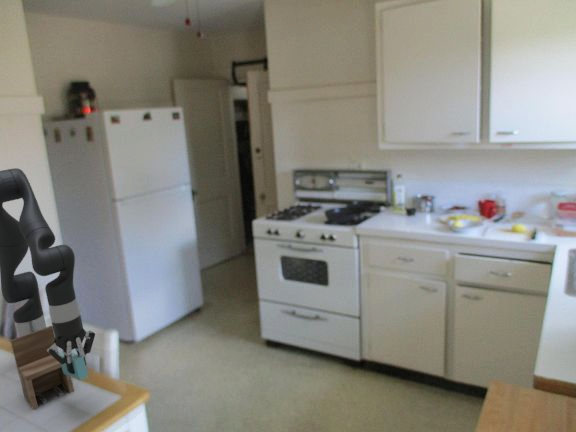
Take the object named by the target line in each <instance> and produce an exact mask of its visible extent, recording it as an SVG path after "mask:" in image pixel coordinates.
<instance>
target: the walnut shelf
mask: <svg viewBox="0 0 576 432" xmlns="http://www.w3.org/2000/svg"><path fill="white" fill-rule="evenodd" d="M54 340H55V335H54V331H53V326H52V325H50V326H46V328H43V329H41V330H38V331H35V332H32V333H30V334H27V335H24V336H21V337H19V338H18V337H17V338H16V337H15V338H13V339H11V340H10V345H11V349H12V353H13V357H14V360H15V364H16V368H17V373H18V377H19V382H20V384H21V387H22V392H23V396H24V399H25V400H26V402H27V403H28V405H30V407H31V408H32V409H33V410H36V409H38V408H39V406H38V401H37V398H38V399H39V400H40V402H41V403H42V404H43V405H45V404H47V403H48V400H46V398H45V397H44V395H42V394H41V393H43V392H46V391H48V390H50V389H53V390H54V391H55V393H57V395H59V397H63V396H65V395H64V392H63V391H62V390H61V389H60V388H59V387H58V386H59V385H62V386H63V387H64V388H65V389H66V390H67V392H69V393H70V394H71V393H73V392H74V391H75V389H74V385H73V379H72V377H71V376H68V375H66V374H64V373H63V370H62V367H61V363H60V362H58V361H57V360H56V359H55V358H54V357H53V356H52V355H50V354H49V353H48V352H47V351H46V349H47V348H48V347H51V346H52V345H53V344H54ZM58 349H59V348H57V350H58ZM57 354H58V355H59V354H61V353H60V352H59V350H58V351H57ZM36 397H37V398H36Z"/></svg>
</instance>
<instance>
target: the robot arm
mask: <svg viewBox="0 0 576 432" xmlns="http://www.w3.org/2000/svg"><path fill="white" fill-rule="evenodd" d="M20 199H21V200H22V201H23V204H22V205H23V206H22V210H21V213H20V215H19V220H18V219H16V218H15V217H13V216H12V215H11V214H10V213H9V212H8V211H7V210H6V209H5V208H4V205H3V204H4V203H7V202H12V201H15V200H20ZM55 241H56V235H55V234H54V232H53V230H52V228H51V227H50V225H49V224H48V223H47V221H46V219H45V217H44V216H43V213H42V211H41V208H40V205H39V203H38V201H37V198H36V195H35V192H34V191H33V188H32V185H31V183H30V180H29V179H28V177H27V175H26V174H25V172H24V171H23V170H22V169H20V168H16V167H15V168H8V169H3V170H0V289H1V293H2V296H3V297H2V298H3V299H4V301H5V302H6V303H8V304H16V303H20V302H23V301H26V300H27V301H26V302H25V303H24V304H23V305H22V306H20V307H18V309H16V310H15V311H14V312H13V314H12V316H13V321H14V325H15V326H14V327H15V329H16V334H17V338H19V337H21V336H24V335H27V334H30V333H32V332H35V331H38V330H41V329H43V328H46V327H47V324H46V319H45V314H44V311H43V306H42V301H41V296H40V290H39V289H40V288H39V283H38V279H37V276H36V275H35V274H37V275H39V277H40V276H41V277H47V276H50V275H53V274H57V273H59V274H58V275H57V277H56V278H55V279H52V280H51V281H49V282H47V284H45V288H44V289H45V290H44V291H45V294H46V299H47V303H48V312H49V316H50V321H51V326H52V327H53V331H54V336H55V340H54V344H53V345H52V346H51V347H48V348H47V349H46V351H47V352H48V353H49V354H50V355H52V356H53V357H54V358H55V359H56V360H57V361H58V362H60V363H61V364H64V363H66V366H67V371H68V372H69V373H71V374H75V371H74V367H73V363H72V357H71V355H72V353H73V352H72V351H73V350H75V352H76V354H77V355H80V356H83V358H84V361H85V365H86V366H87V361H86V355H87V354H90V353H91V351H92V347H93V345H94V341H95V340H94V339H95V337H96V333H95V332H93V330H88V331H86V330H85V329H84V324H83V320H82V316H81V310H80V306H79V302H78V300H77V296H76V292H75V287H74V272H75V262H76V261H75V259H76V258H75V257H76V256H75V253H74V251H73V249H72V248H71V247H70V246H69V245H67V244H59V245H56V246H53V245H54V244H55ZM28 251H29V252H30V257H31V266H32V269H33V271H34V272H35V273H33V271H24V272H22V273H18V274H15V273H16V270H17V268H18V267H19V265H20V264H21V263H22V261H23V260H24V258H25V257H26V256H27V253H28ZM84 339H85V340H84ZM83 341H84V345H83ZM58 348H59V349H60V350H62V353H63V354H64V358H61V357H60V356H59V355H58V354H57V351H58V352H59V350H57V349H58Z"/></svg>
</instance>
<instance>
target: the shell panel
mask: <svg viewBox="0 0 576 432" xmlns="http://www.w3.org/2000/svg"><path fill="white" fill-rule="evenodd" d="M59 356H60V357H61V358H64V354H63V352H62V353H60V354H59ZM71 357H72V363H73V367H74V371H75V374H71V373H69V372H68V371H67V366H66V363H64V364H61V367H62V370H63V373H64V374H66V375H68V376H71V378H74V379H75V380H79V381H82V380H85V379H86V378H88V377H89V376H90V375H89V371H88V369H87V364H86V365H85V361H86V360H85V361H84V358H83V356H80V355H78V354H77V353H73V352H72V355H71Z"/></svg>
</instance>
